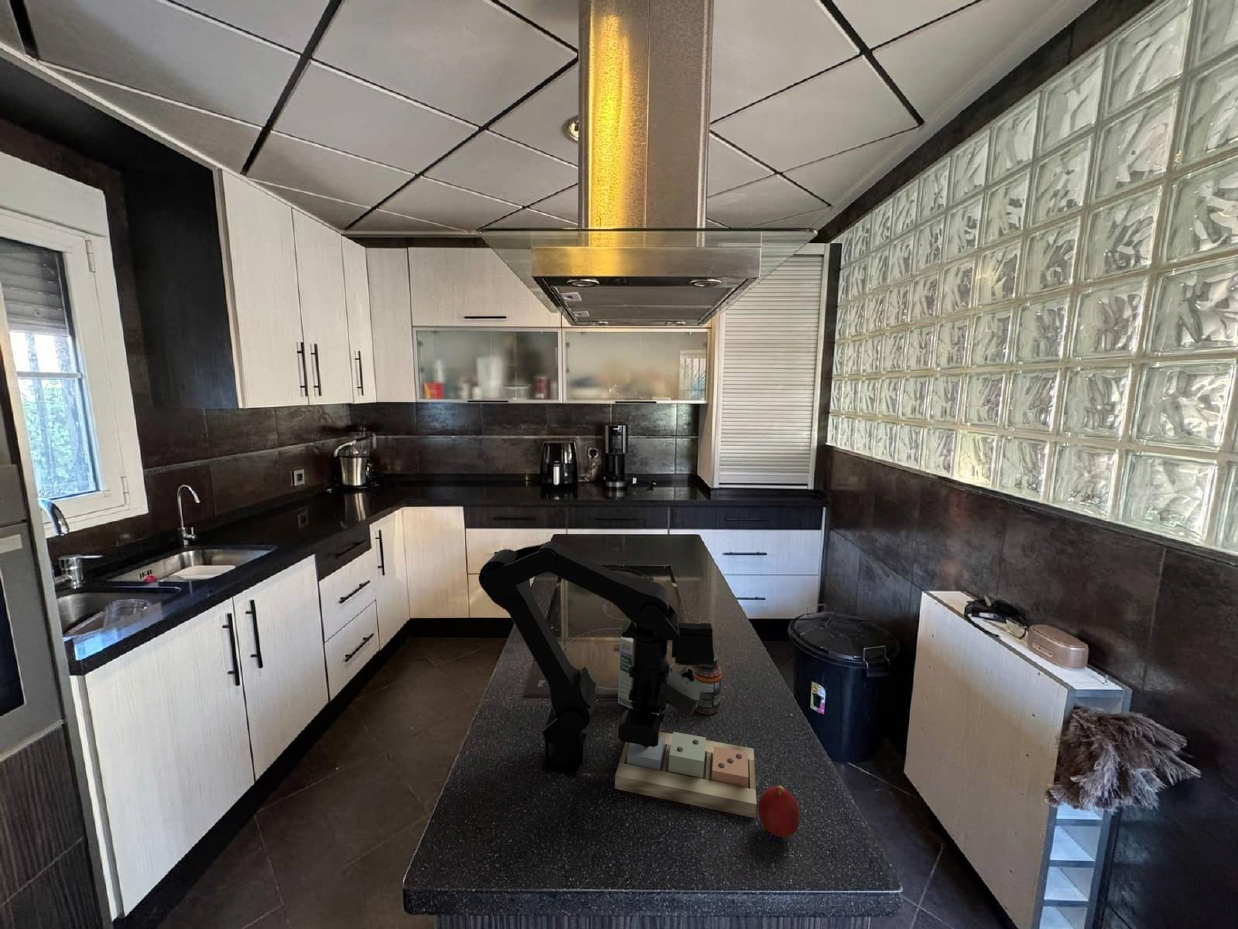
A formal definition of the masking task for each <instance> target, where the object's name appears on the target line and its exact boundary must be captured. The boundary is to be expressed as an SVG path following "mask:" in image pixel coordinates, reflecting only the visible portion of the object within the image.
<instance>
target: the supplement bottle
mask: <svg viewBox="0 0 1238 929" xmlns="http://www.w3.org/2000/svg"><path fill="white" fill-rule="evenodd" d="M718 660H719V659H718V655H717V654H716V653H715V652H714V664H713V667H701V666H692V667H691V668H692V669H694V670H695V682H696V681H699V686H700V697H699V700H698V703H697V705H696V707H695V709H694V711H695V712H697V713H699V714H700V715H701V714H702V715H707V716H708V715H709V716H710V715H715V714H716V713H717V712H719V710H720V708H721V696H722V695H721V694H722V690H721V689H722V678H723V676H722V674H723V671H722V667H721V665H720V664H719V663H718Z"/></svg>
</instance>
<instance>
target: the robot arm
mask: <svg viewBox="0 0 1238 929" xmlns="http://www.w3.org/2000/svg"><path fill="white" fill-rule="evenodd" d="M545 573H550V574H552V575H554V576H556V577H559V578H561V579H563V580H564V581H566V582H569V583H571V584H573V585H575V586H577V587H579V588H581V589H583V590H586V591H587V592H589V593H591V594H594V595H595V596H597V597H599V598H601V599H604V600H605V601H608V602H609V603H612V605H614V606H615V607H617V609H618V610H619V611H620V612H621V613H622V614H623V615H624V616H625V617H626V618H627V619H629V620H628V621H627V622H625V623H623V624H622V630H621V637H623V638H633V653H632V666H631V669H630V671H629V677H632V683H631V689H630V692H629V700H631V704H632V708H628V709H627V710H625V711H623V712H622V715H621V717H620V718H621V719H620V721H619V724H618V729H617V738H618V740H619V741H620V742H624V743H626V742H628V743H634V744H639V745H643V746H646V747H649V746H650V747H656V746H658V743H659V739H660V734H661V732H662V725H663V723H664V719H665V715H666V714H665V713H664V711H665V710H667V705H668V706H671V707H672V708H675V709H676V710H678V711H681V712H682V714H684V715H686V716H692V714H693V713H694V711H695V710H694V709H695V707H696V705H697V703H698V700H699V697H700V686H699V681H696V682H695V670H694V669H692V667H693V666H701V667H713V664H714V653H715V650H714V637H713V636H714V634H713V632H714V629H713V624H712V623H708V622H702V623H701V622H700V623H695V622H694V623H691V622H690V623H689V622H680V618H679V617H680V616H679V615H678V613H677V611H676V610H675V608H674V607H673V606H672V605H671V603H670V596H669V594H668V591H667V589H666V588H665V586H664V585H662V584H661V583H658V582H655V581H651V580H650V579H649V580H648V579H645V578H641V577H633V576H626V575H622V574H620V573H617V572H616V571H614V570H611V569H610V568H607V567H605V566H603V565H602V564H599V563H598V562H595V561H593V560H592V559H589V558H586V557H584V556H583V555H581V554H579V553H576V552H574V551H573V550H570V549H568V548H566V547H564V546H563V545H561V544H560V543H558V542H557V541H554V540H548V541H545V542H543V543H541V544H537V545H529V546H525V547H522V548H519V549H515V550H513V549H511V548H508V549H507V548H505V549H500V550H499V551H497V552H496V553H495V554H494V555H493V556H492V557H491V558H489V560H487V562H485V564H484V565H483V566H482V567H481V568H480V571H479V575H478V582H479V585H480V587H481V589H482V590H483V591H484V592H485V594H486V595H487V596H488V597H489V598H490V600H491V601H492V602H493V603H494V605H497V606H499V607H500V608H502V609H503V610H505V611H506V612H507V613H508V614H509V617H510V618H511V620H512V622H513V624H514V626H515V627H516V629H517V630H518V632H519V634H520V636H521V638H522V640H523V642H524V643H525V644H526V647H527V649H528V650H529V652H530V654H531V656H532V658H533V659H534V661H535V663H536V665H537V666H538V668H539V670H540V672H541V673H542V675H543V677H544V679H545V681H546V682H547V685H548V690H549V696H550V703H551V706H550V707H551V708H550V710H549V712H548V716H547V717H546V721H545V725H544V726H543V730H542V735H543V738H544V757H543V760H542V762H541V764H540V768H541V769H543V770H547V771H551V772H556V773H562V774H566V775H572V776H576V775H578V774H579V771H580V768H581V766H582V765H584V763H585V760H586V758H587V756H588V734H587V732H585V731H586V730H585V729H586V728H587V727H588V726H589V725H590V722H591V718H592V715H593V714H592V713H593V709H594V706H595V702H596V695H597V693H596V688H597V683H596V682H595V681H594V680H593V679H592V678H591V676H590V673H589V670H588V668H587V666H584V667H582V668H581V669H577V668H576V667H575V666H573V665H572V664H571V663H570V661H569V660H568V658H567V656H566V654H565V652H564V650H563V649H562V647H561V644H560V643H559V641H558V639H557V637H556V636H555V634H554V632H553V630H552V628H551V627H550V625H549V623H548V622H547V619H546V617H545V616H544V614H543V612H542V610H541V609H540V607H539V605H538V603H537V601H536V600H535V598H534V596H533V593H532V587H531V581H530V580H531V579H533V578H536V577H537V576H540V575H542V574H545ZM668 641H671V644H670V646H671V647H670V658H671V659H674V663H675V664H677V665H678V666H686V667H683V668H682V669H681V670H680V671H679V670H676V672H673V669H672V668H671V665H670V663H669V660H668V644H669V643H668ZM691 666H692V667H691ZM662 712H663V713H662Z"/></svg>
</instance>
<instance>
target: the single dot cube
mask: <svg viewBox="0 0 1238 929" xmlns="http://www.w3.org/2000/svg"><path fill="white" fill-rule="evenodd" d="M664 750H665V737H660V739H659V743H658V746H656V747H650V746H649V747H646V746H643V745H639V744H634V743H630V746H629V749H628V752H627V764H628V765H633V766H638V767H643V768H648V769H653V770H658V771H661V767H662V762H663V757H664Z"/></svg>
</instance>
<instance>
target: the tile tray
mask: <svg viewBox="0 0 1238 929" xmlns="http://www.w3.org/2000/svg"><path fill="white" fill-rule="evenodd" d="M672 736H673V733H669V732H662V731H661V734H660V737H665V750H664V757H663V762H662V767H661V771H658V770H653V769H648V768H643V767H638V766H633V765H628V764H627V752H628V749H629V746H630V743H628V742H624V746H623V749H622V753H621V756H620V759H619V761H618V762H619V763H618V766H617V768H616V772H615V774H614V789H616V790H619V791H624V792H630V793H633V794H638V795H643V796H649V797H654V798H658V799H663V800H668V801H671V802H672V801H673V802H677V803H682V804H686V805H691V806H696V807H699V808H700V807H701V808H706V809H711V810H715V811H721V812H726V813H730V814H734V815H738V816H744V817H748V818H754V819H756V814H757V790H756V789H757V788H756V770H755V752H754V750H755V749H754V748H752V747H747V746H741V745H736V744H731V743H730V744H729V743H725V742H720V741H714V740H707V739H706V745H705V760H704V772H703V778H701V777H696V776H690V775H685V774H680V773H675V772H670V771H668V770H669V753H670V747H671V742H672ZM714 746H716V747H721V748H727V749H732V750H738V751H743V752H748V788H744V787H739V786H734V785H729V784H724V783H719V782H714V781H712V768H713V751H714Z"/></svg>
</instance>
